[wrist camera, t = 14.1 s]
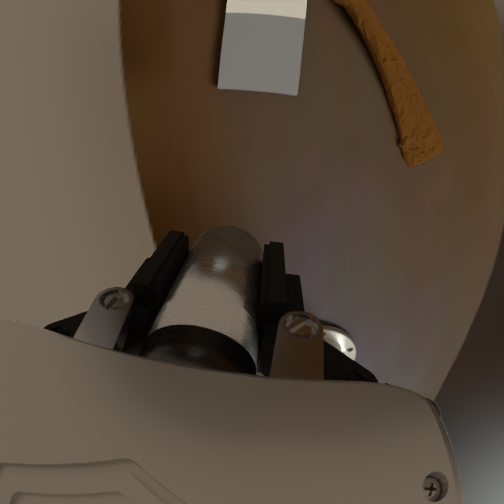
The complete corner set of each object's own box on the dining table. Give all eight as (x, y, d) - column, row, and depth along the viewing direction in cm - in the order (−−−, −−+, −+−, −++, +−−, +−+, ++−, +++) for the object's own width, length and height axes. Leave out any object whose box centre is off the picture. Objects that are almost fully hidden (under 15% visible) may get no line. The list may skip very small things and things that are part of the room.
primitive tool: (443, 149, 24) (461, 156, 20) (406, 169, 25) (421, 178, 22) (354, -10, 17) (364, -22, 13) (310, 7, 18) (314, -6, 15)
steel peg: (259, 292, 13) (246, 458, 6) (192, 284, 13) (134, 437, 6) (267, 229, 12) (259, 406, 5) (191, 221, 12) (101, 375, 5)
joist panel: (296, 96, 23) (297, 95, 22) (219, 89, 23) (217, 88, 22) (309, -52, 14) (310, -57, 13) (238, -57, 14) (237, -62, 13)
